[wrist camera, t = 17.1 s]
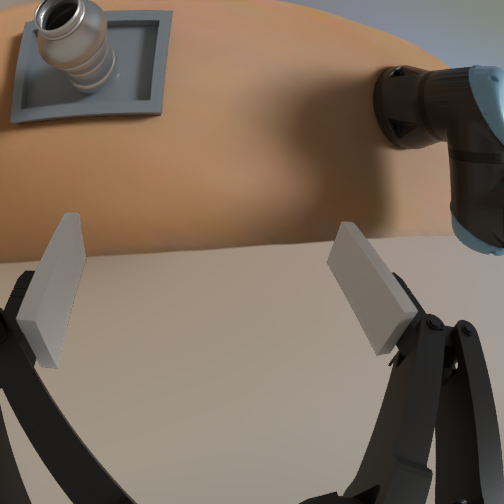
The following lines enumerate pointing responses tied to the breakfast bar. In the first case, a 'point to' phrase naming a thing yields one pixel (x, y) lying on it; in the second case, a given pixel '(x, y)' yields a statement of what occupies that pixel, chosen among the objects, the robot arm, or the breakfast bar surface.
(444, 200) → the breakfast bar surface
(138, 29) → the tray
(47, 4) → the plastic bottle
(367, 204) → the breakfast bar surface
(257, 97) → the breakfast bar surface
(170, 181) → the breakfast bar surface
